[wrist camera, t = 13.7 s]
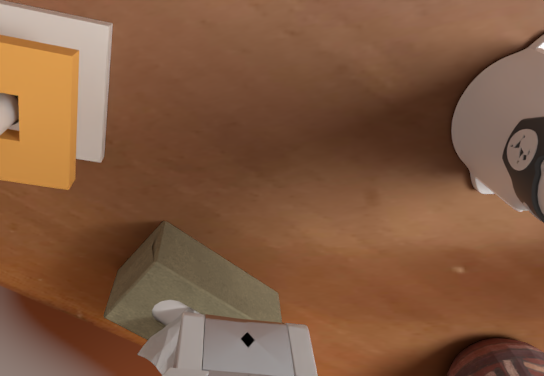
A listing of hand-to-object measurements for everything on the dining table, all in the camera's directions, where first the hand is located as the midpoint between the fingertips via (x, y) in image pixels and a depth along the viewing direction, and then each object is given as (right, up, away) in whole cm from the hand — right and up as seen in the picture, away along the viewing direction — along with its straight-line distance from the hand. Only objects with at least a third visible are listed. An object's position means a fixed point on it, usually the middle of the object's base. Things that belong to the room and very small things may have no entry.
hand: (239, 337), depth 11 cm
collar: (-22, +10, +29) cm, 38 cm away
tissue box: (-8, -8, +49) cm, 51 cm away
